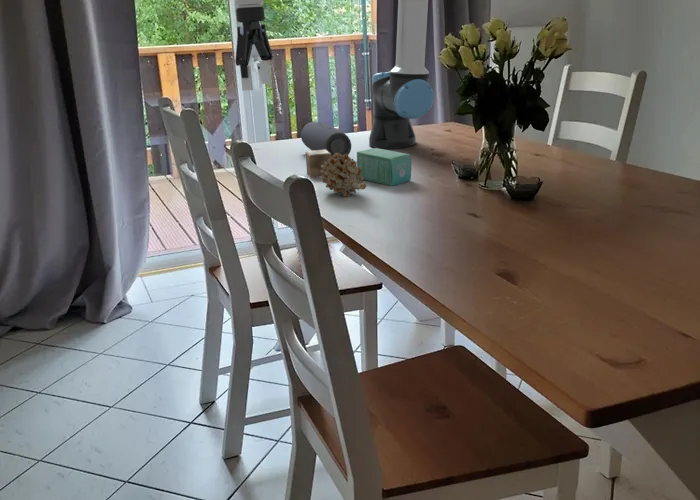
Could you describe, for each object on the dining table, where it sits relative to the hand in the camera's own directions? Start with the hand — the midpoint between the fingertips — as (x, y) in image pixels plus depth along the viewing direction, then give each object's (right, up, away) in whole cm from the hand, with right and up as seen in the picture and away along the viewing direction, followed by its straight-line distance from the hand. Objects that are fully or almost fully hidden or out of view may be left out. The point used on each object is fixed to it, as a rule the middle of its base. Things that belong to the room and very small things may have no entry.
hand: (257, 87), depth 195 cm
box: (+35, -27, -10) cm, 45 cm away
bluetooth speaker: (+19, -17, +19) cm, 32 cm away
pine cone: (+26, -33, -24) cm, 48 cm away
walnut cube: (+17, -24, 0) cm, 30 cm away
